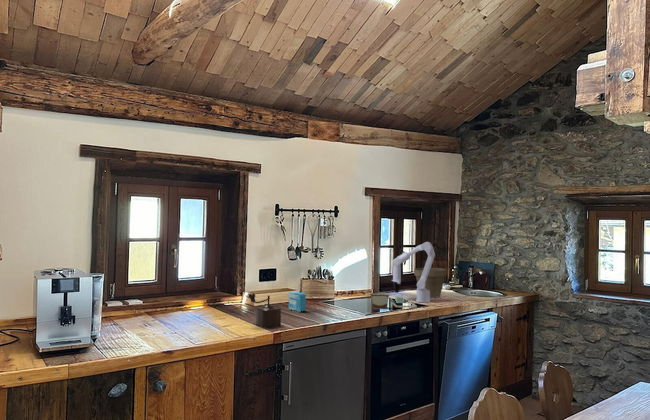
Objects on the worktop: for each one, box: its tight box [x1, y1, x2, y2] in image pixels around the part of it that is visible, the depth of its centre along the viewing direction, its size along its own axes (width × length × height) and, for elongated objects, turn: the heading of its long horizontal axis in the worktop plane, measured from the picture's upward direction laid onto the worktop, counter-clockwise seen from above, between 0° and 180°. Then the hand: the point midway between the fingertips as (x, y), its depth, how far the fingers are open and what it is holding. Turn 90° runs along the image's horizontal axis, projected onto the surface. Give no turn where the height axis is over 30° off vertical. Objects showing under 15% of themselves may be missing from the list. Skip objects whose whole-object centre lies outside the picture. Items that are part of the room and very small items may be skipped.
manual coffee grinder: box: [248, 292, 282, 328], centre depth 261 cm, size 16×11×18 cm
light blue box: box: [288, 291, 307, 312], centre depth 306 cm, size 12×4×12 cm, turn 43°
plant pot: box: [413, 267, 447, 299], centre depth 374 cm, size 25×25×22 cm
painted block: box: [394, 295, 405, 304], centre depth 344 cm, size 5×7×4 cm
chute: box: [390, 298, 418, 308], centre depth 336 cm, size 14×26×2 cm, turn 4°
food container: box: [370, 292, 390, 310], centre depth 319 cm, size 12×6×10 cm, turn 84°
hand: (396, 292), depth 352 cm, fingers closed
